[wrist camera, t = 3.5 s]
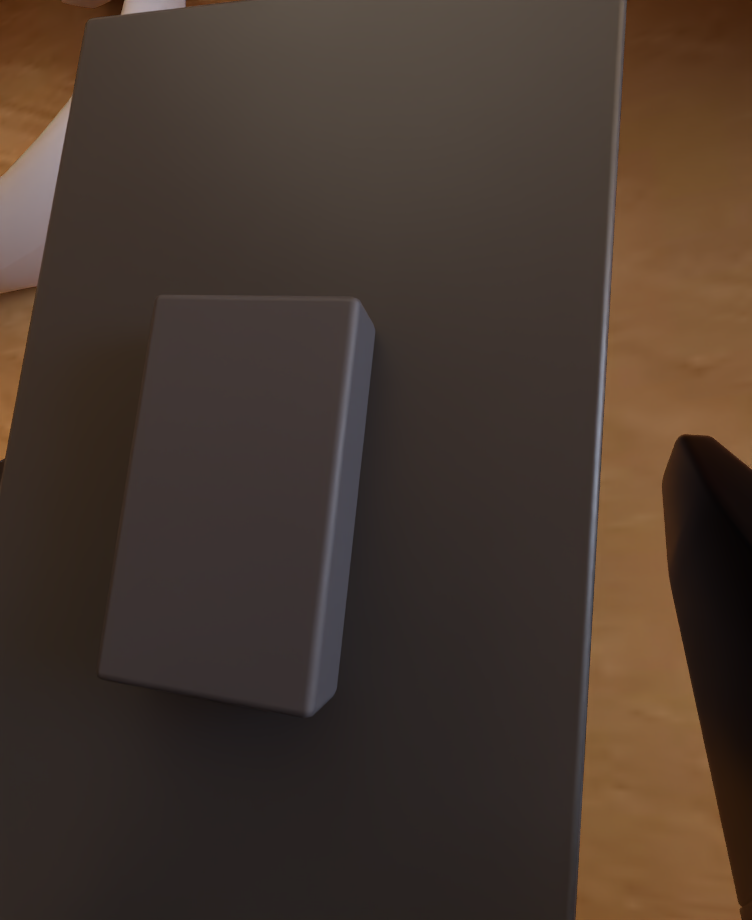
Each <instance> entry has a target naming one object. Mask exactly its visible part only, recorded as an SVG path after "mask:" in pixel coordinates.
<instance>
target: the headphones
mask: <svg viewBox="0 0 752 920" xmlns="http://www.w3.org/2000/svg"><path fill="white" fill-rule="evenodd" d="M61 1H62V2H64V3H66V4H71V5H76V6H80V7H86V8H97V7H99V6H101V5H103V4H105V3H107V2H109V1H111V0H61ZM182 7H186V0H125V1H124V4H123V8H122V11H121V15H123V14H132V13H140V12H149V11H157V10H165V9H174V8H182ZM72 95H73V94H72ZM71 101H72V96H71V98H70V99H69V101H68V102H67V103H66V105H65V106H64V107H63V108H62V109H61V111H60V112H59V113H58V114H57V115H56V117H55V118H54V119H53V120H52V121H51V123H50V124H49V125H48V126H47V127H46V129H45V130H44V131H43V132H42V133H41V135H40V136H39V137H38V138H37V139H36V140H35V141H34V142H33V144H32V145H31V146H30V147H29V148H28V149H27V150H26V151H25V152H24V153H23V154H22V155H21V157H20V158H19V159H18V160H17V161H16V162H15V163H14V164H13V165H12V166H11V167H10V168H9V170H8V171H7V172H6V173H5V174H4V175H2V176H1V177H0V294H1V293H6V292H10V291H15V290H20V289H25V288H30V287H35V286H37V284H38V278H39V273H40V268H41V262H42V257H43V251H44V246H45V241H46V235H47V230H48V225H49V219H50V214H51V208H52V203H53V198H54V192H55V187H56V181H57V176H58V171H59V165H60V160H61V154H62V149H63V144H64V138H65V133H66V127H67V122H68V117H69V111H70V106H71Z"/></svg>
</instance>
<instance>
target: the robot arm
mask: <svg viewBox="0 0 752 920" xmlns="http://www.w3.org/2000/svg"><path fill="white" fill-rule="evenodd" d="M4 462H5V459H3V460H1V461H0V483H1V478H2V473H3V467H4ZM662 494H663V507H664V521H665V534H666V547H667V560H668V571H669V578H670V584H671V589H672V594H673V599H674V604H675V608H676V613H677V618H678V622H679V627H680V632H681V636H682V641H683V646H684V650H685V655H686V660H687V664H688V669H689V674H690V678H691V683H692V688H693V692H694V697H695V702H696V706H697V711H698V716H699V720H700V725H701V730H702V734H703V739H704V744H705V748H706V753H707V758H708V762H709V767H710V772H711V776H712V781H713V786H714V791H715V795H716V800H717V805H718V809H719V814H720V819H721V823H722V828H723V833H724V837H725V842H726V847H727V851H728V856H729V861H730V865H731V870H732V875H733V879H734V884H735V889H736V893H737V898H738V902H739V905H740V906H742V907H741V908H740V914H741V918H742V920H752V470H751V469H750V468H749V467H748V466H747V465H745V464H744V463H743V462H742V461H740V460H739V459H738V458H737V457H736V456H734V455H733V454H732V453H731V452H730V451H728V450H727V449H726V448H725V447H724V446H722V445H721V444H720V443H719V442H717V441H716V440H715V439H714V438H712V437H710V436H703V435H688V434H684V435H681V436H680V437H679V438H678V439H677V440H676V442H675V445H674V448H673V450H672V453H671V456H670V459H669V462H668V464H667V467H666V470H665V473H664V476H663V482H662Z"/></svg>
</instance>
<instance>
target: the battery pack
mask: <svg viewBox="0 0 752 920" xmlns="http://www.w3.org/2000/svg"><path fill="white" fill-rule="evenodd" d="M626 9H627V0H241V1H233V2H224V3H216V4H208V5H199V6H191V7H182V8H174V9H165V10H157V11H149V12H140V13H132V14H123V15H115V16H106V17H98V18H91V19H90V20H88V21H87V23H86V25H85V30H84V36H83V41H82V47H81V52H80V57H79V63H78V68H77V74H76V79H75V84H74V90H73V95H72V101H71V106H70V111H69V117H68V122H67V127H66V133H65V138H64V144H63V149H62V154H61V160H60V165H59V171H58V176H57V181H56V187H55V192H54V198H53V203H52V208H51V214H50V219H49V225H48V230H47V235H46V241H45V246H44V251H43V257H42V262H41V268H40V273H39V278H38V284H37V289H36V295H35V300H34V305H33V311H32V316H31V322H30V327H29V332H28V338H27V343H26V349H25V354H24V359H23V365H22V370H21V375H20V381H19V386H18V392H17V397H16V402H15V408H14V413H13V419H12V424H11V429H10V435H9V440H8V446H7V451H6V456H5V462H4V467H3V473H2V478H1V483H0V920H575V917H576V899H577V881H578V863H579V846H580V828H581V810H582V792H583V774H584V757H585V739H586V721H587V703H588V685H589V668H590V650H591V632H592V614H593V596H594V579H595V561H596V543H597V525H598V507H599V490H600V472H601V454H602V436H603V418H604V401H605V383H606V365H607V347H608V329H609V312H610V294H611V276H612V258H613V240H614V223H615V205H616V187H617V169H618V151H619V134H620V116H621V98H622V80H623V62H624V45H625V27H626Z"/></svg>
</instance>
